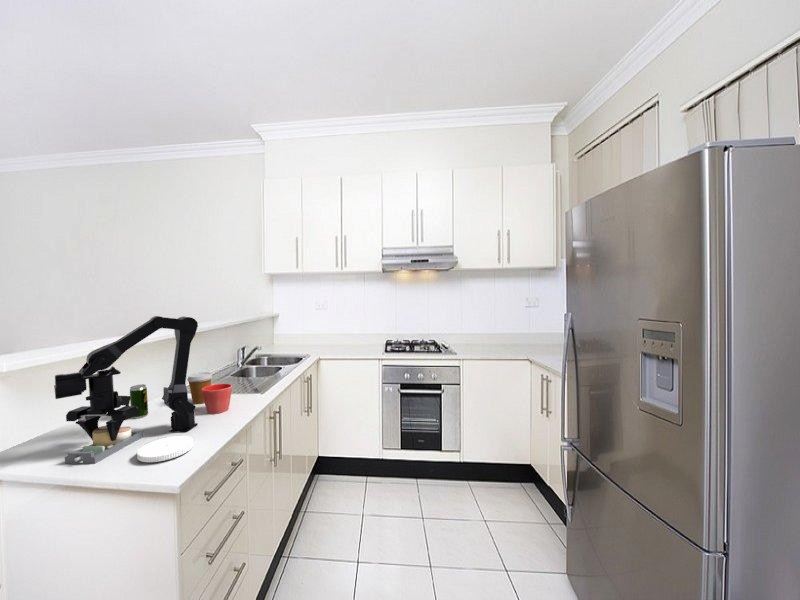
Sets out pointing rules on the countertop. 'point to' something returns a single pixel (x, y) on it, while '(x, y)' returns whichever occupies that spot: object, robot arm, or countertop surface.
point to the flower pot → (217, 397)
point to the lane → (91, 459)
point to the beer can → (139, 400)
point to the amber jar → (102, 437)
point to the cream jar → (123, 434)
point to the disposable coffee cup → (198, 385)
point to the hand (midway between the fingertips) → (104, 440)
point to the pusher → (91, 450)
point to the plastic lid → (164, 449)
